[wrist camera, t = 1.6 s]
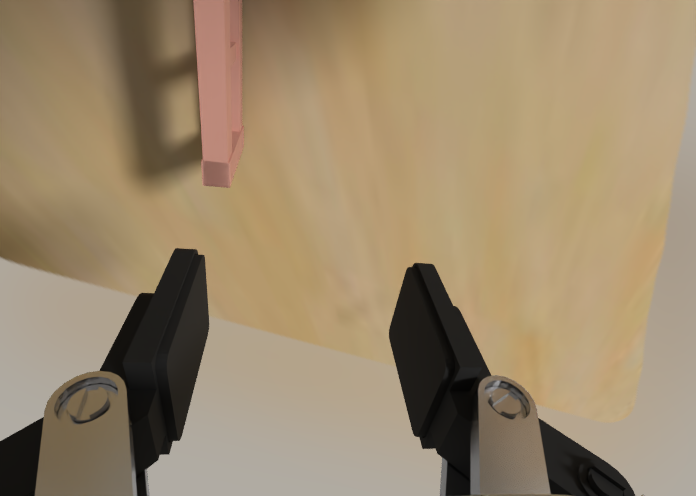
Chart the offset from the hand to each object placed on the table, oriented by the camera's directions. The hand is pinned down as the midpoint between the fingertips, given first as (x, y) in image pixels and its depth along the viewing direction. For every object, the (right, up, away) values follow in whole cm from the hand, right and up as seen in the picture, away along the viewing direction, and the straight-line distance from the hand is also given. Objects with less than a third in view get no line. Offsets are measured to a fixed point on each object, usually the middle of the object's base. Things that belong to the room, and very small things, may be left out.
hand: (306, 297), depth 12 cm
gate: (-7, +15, +14) cm, 22 cm away
